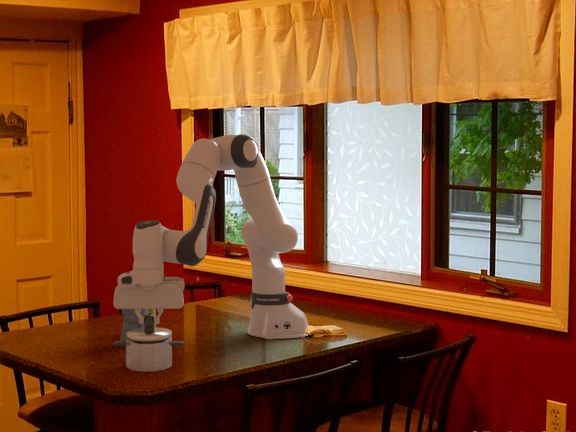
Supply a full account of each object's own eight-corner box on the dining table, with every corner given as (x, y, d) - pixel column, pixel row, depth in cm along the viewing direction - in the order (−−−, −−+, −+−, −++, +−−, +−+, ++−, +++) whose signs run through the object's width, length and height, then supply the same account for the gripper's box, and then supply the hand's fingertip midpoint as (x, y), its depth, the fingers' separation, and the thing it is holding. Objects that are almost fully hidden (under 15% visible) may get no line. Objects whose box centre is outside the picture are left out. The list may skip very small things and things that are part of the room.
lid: (173, 331, 282) (173, 310, 281) (169, 341, 269) (169, 320, 268) (130, 331, 281) (129, 310, 281) (123, 341, 268) (123, 320, 268)
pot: (184, 359, 283) (184, 333, 282) (182, 371, 270) (181, 343, 269) (117, 360, 282) (117, 333, 281) (111, 371, 269) (111, 344, 268)
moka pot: (141, 350, 294) (140, 286, 292) (104, 343, 303) (103, 282, 300) (160, 343, 302) (160, 282, 300) (124, 337, 311) (123, 277, 308)
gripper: (185, 274, 277) (185, 320, 278) (115, 275, 276) (115, 321, 277) (183, 278, 271) (184, 325, 272) (112, 278, 270) (112, 326, 271)
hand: (149, 323), depth 275 cm, fingers closed on lid, 3 cm apart
